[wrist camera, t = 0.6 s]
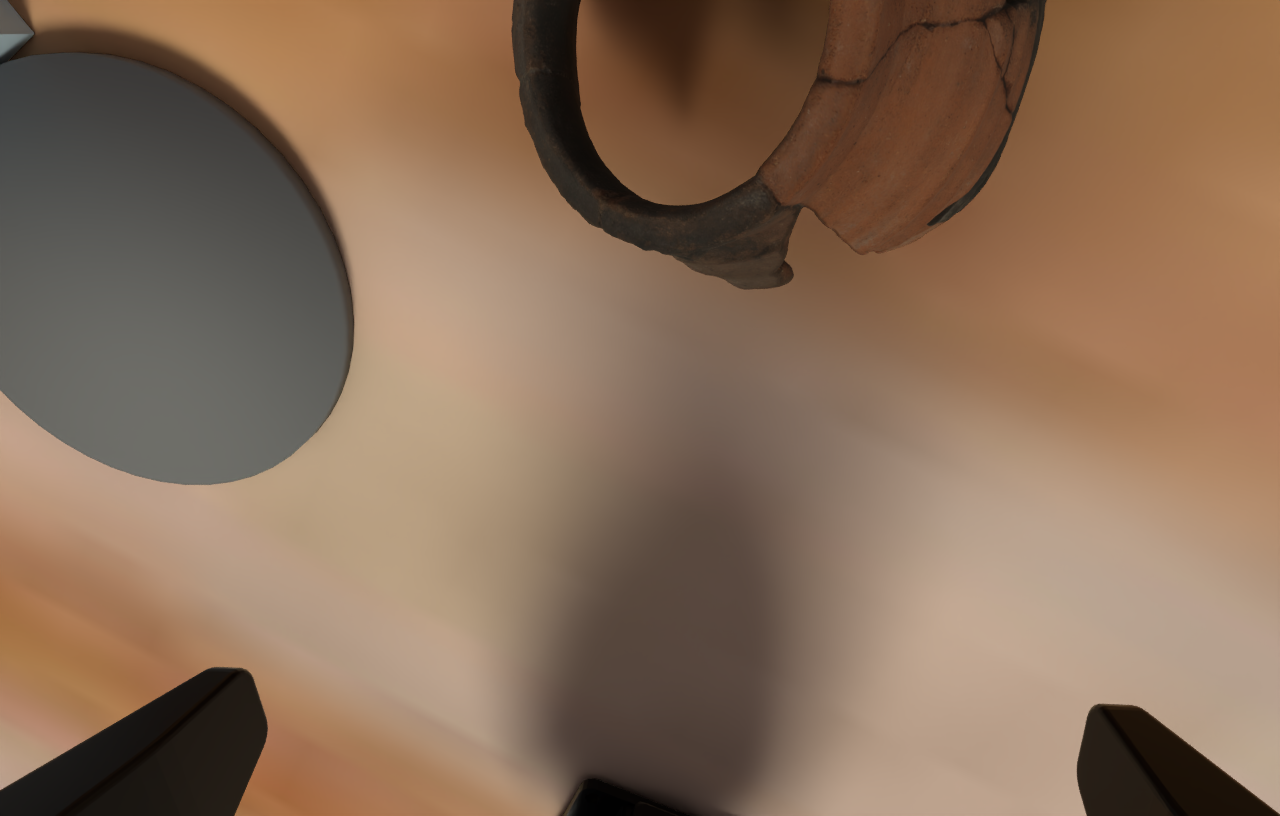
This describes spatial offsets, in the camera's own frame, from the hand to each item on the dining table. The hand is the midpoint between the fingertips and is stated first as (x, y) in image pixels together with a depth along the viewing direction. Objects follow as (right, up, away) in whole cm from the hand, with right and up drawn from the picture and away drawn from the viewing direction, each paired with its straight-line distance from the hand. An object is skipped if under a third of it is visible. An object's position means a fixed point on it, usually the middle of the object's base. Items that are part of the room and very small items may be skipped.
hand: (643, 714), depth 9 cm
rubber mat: (-14, +7, +14) cm, 21 cm away
